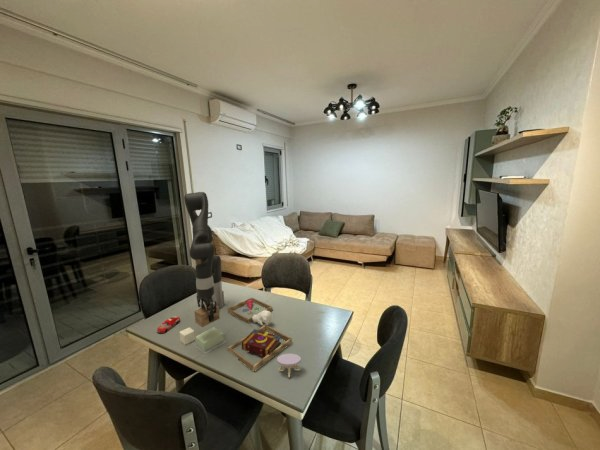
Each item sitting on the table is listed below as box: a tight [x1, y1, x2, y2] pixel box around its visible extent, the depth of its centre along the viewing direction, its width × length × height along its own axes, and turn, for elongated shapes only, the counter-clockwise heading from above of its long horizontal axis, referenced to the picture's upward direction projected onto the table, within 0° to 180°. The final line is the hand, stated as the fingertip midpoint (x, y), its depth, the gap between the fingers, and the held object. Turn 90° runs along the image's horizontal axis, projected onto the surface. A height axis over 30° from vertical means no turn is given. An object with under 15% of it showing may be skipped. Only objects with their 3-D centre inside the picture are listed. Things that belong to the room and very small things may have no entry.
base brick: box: [194, 326, 224, 351], centre depth 117 cm, size 10×8×4 cm
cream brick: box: [179, 326, 196, 345], centre depth 119 cm, size 5×5×6 cm
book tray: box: [227, 324, 293, 372], centre depth 115 cm, size 24×19×2 cm
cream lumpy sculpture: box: [251, 309, 273, 326], centre depth 134 cm, size 6×8×12 cm
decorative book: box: [241, 329, 282, 358], centre depth 115 cm, size 11×16×5 cm
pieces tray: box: [227, 297, 273, 325], centre depth 148 cm, size 19×20×2 cm
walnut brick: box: [194, 306, 220, 328], centre depth 115 cm, size 9×6×6 cm, turn 142°
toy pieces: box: [242, 300, 260, 315], centre depth 150 cm, size 12×11×4 cm
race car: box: [157, 315, 181, 334], centre depth 132 cm, size 13×5×4 cm, turn 163°
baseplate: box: [191, 337, 228, 355], centre depth 118 cm, size 12×12×1 cm
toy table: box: [276, 353, 302, 378], centre depth 101 cm, size 10×9×6 cm
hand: (207, 318), depth 116 cm, fingers closed on walnut brick, 6 cm apart
